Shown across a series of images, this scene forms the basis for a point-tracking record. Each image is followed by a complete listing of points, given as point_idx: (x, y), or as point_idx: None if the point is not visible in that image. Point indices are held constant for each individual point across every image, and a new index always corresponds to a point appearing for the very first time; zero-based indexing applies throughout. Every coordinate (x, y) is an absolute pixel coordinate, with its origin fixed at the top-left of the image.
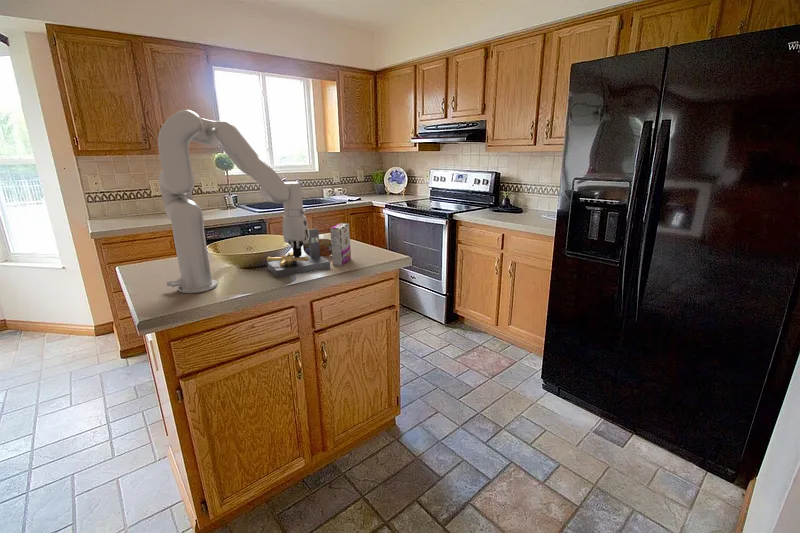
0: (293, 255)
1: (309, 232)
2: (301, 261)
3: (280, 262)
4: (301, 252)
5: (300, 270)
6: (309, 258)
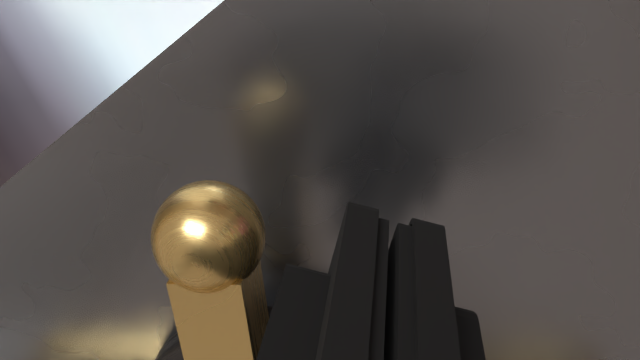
0: (257, 272)
1: None
2: (459, 277)
3: (95, 320)
4: (479, 342)
5: None
6: (608, 50)
